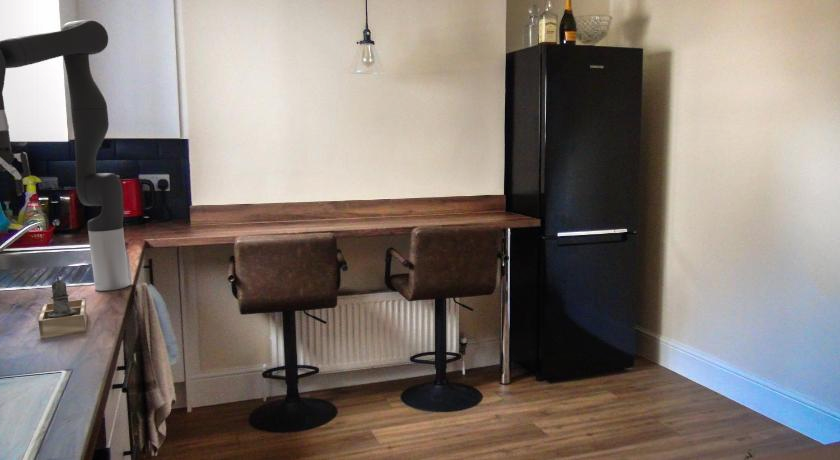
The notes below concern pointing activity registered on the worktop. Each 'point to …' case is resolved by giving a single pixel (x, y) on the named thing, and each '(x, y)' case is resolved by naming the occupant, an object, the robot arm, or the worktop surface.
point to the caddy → (63, 320)
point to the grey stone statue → (60, 300)
